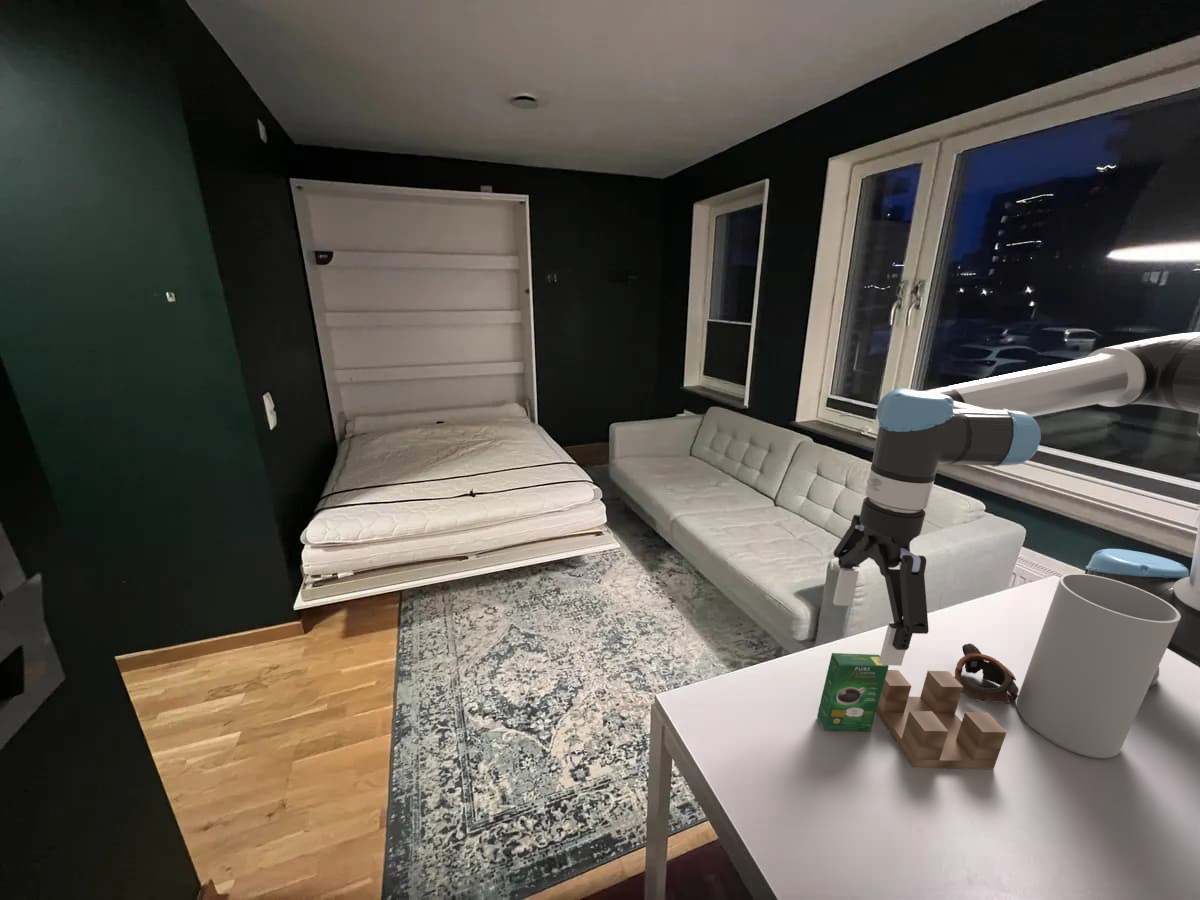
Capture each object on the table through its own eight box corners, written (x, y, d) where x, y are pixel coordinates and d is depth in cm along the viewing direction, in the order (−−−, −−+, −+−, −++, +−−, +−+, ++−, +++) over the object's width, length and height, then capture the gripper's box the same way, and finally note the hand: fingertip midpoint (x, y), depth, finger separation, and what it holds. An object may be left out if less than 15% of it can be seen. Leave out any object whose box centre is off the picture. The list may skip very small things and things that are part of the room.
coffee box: (863, 717, 79) (879, 652, 75) (873, 732, 76) (890, 665, 72) (815, 716, 79) (829, 651, 75) (823, 731, 76) (838, 664, 72)
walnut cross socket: (938, 704, 82) (948, 671, 80) (993, 769, 71) (1006, 732, 69) (869, 702, 82) (877, 669, 80) (913, 767, 70) (924, 730, 68)
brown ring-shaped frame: (1034, 717, 81) (1032, 690, 77) (971, 727, 83) (967, 702, 80) (989, 654, 91) (986, 628, 87) (935, 665, 94) (929, 640, 90)
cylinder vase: (1122, 777, 70) (1189, 635, 63) (1013, 727, 78) (1060, 596, 71) (1114, 725, 79) (1171, 595, 71) (1016, 685, 87) (1059, 565, 79)
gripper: (826, 471, 78) (805, 584, 84) (927, 545, 54) (887, 694, 60) (871, 473, 78) (847, 585, 84) (992, 547, 54) (945, 696, 60)
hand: (863, 631), depth 72 cm, fingers open, 13 cm apart
